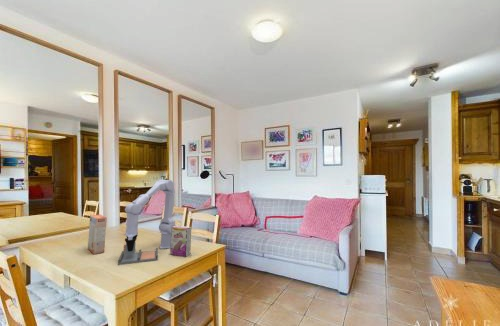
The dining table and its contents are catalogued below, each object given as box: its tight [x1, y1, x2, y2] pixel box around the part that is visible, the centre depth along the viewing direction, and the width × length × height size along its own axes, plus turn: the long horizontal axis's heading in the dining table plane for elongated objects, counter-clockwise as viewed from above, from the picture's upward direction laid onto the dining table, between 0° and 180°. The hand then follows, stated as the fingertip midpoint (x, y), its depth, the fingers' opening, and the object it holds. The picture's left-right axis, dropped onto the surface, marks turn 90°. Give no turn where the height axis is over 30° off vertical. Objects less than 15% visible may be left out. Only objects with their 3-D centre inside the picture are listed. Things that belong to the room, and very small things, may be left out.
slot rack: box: [117, 247, 159, 266], centre depth 125 cm, size 19×14×2 cm
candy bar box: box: [170, 224, 192, 258], centre depth 132 cm, size 11×5×16 cm, turn 71°
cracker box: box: [87, 214, 108, 255], centre depth 136 cm, size 14×6×21 cm, turn 47°
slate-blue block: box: [124, 241, 136, 255], centre depth 124 cm, size 4×4×5 cm
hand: (130, 249), depth 124 cm, fingers closed on slate-blue block, 4 cm apart
